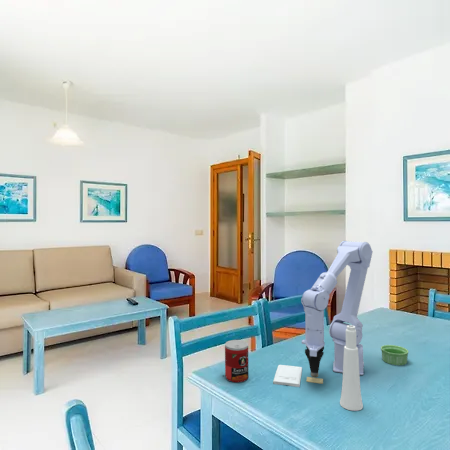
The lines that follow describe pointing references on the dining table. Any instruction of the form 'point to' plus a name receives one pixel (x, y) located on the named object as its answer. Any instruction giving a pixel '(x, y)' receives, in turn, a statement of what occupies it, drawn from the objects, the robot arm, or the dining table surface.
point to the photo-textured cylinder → (314, 374)
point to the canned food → (236, 360)
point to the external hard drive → (288, 375)
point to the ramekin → (394, 354)
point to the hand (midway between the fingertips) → (314, 370)
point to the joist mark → (314, 380)
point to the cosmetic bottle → (351, 373)
